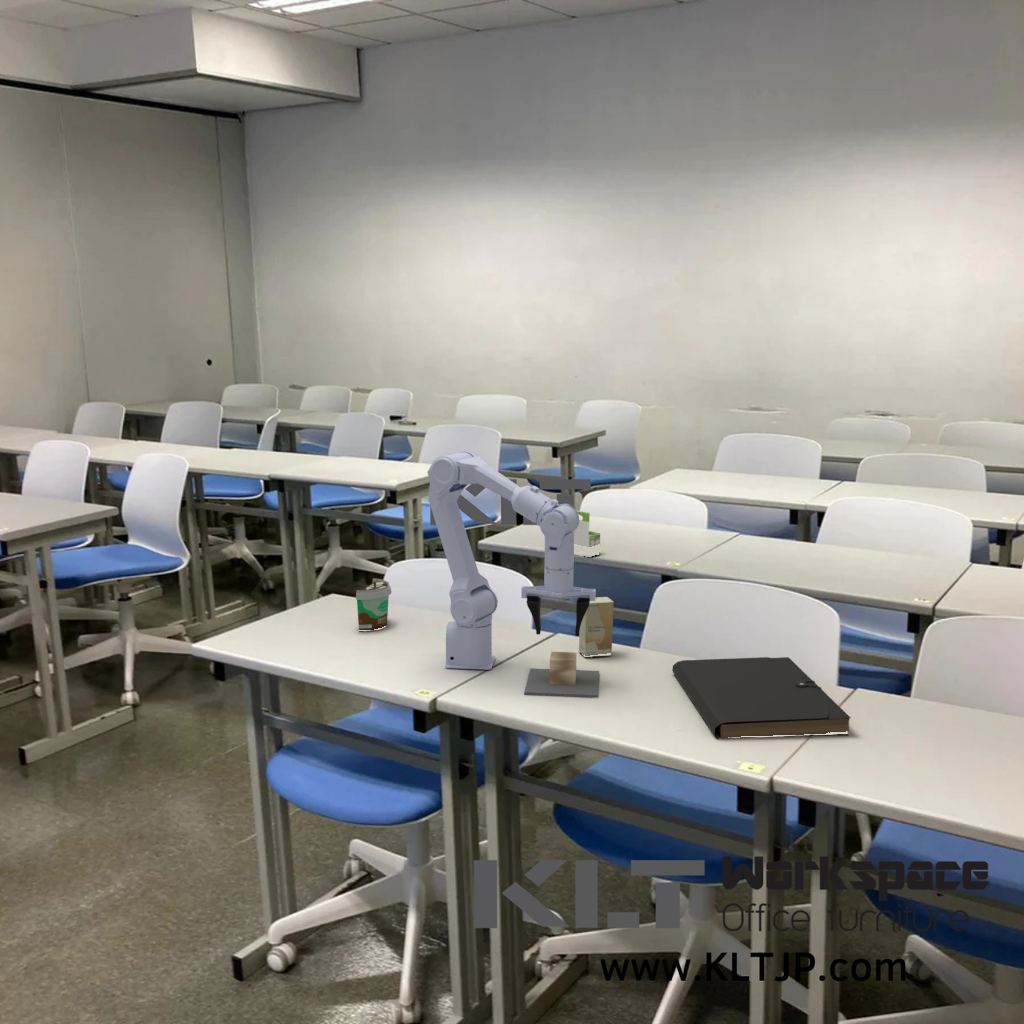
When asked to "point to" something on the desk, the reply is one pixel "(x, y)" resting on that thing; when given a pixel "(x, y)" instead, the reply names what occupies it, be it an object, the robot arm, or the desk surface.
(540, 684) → the charcoal mat
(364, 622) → the food container
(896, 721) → the desk surface
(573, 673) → the maple cube
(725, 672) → the file folder
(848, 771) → the desk surface
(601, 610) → the skincare box
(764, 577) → the desk surface
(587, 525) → the ink box
